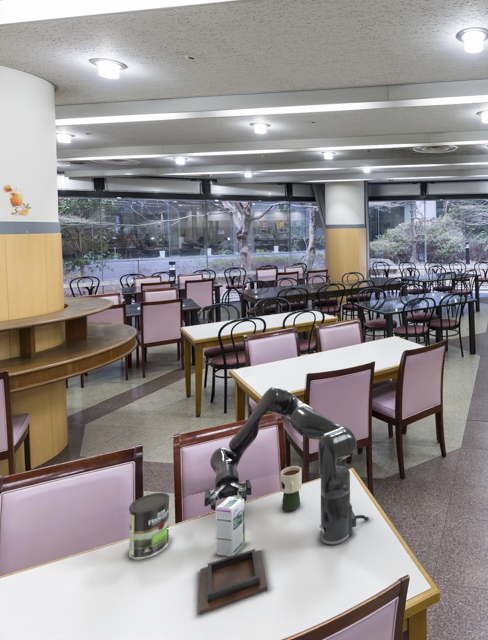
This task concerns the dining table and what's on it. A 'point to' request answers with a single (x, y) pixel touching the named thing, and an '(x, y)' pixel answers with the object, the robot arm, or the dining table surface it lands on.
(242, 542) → the syrup box
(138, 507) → the coffee can
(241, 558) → the base pad
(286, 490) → the character mug
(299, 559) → the dining table surface
